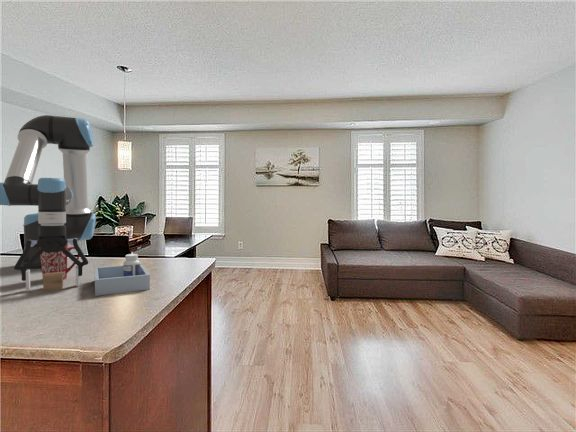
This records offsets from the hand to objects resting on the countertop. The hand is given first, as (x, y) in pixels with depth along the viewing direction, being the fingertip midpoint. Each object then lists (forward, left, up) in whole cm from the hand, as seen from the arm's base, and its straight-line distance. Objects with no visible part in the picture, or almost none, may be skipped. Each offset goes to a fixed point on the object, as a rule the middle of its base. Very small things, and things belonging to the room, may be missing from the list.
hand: (53, 287), depth 112 cm
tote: (+5, +20, 0) cm, 21 cm away
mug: (-14, +1, 0) cm, 14 cm away
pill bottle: (+5, +24, 0) cm, 24 cm away
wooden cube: (0, 0, 0) cm, 0 cm away
